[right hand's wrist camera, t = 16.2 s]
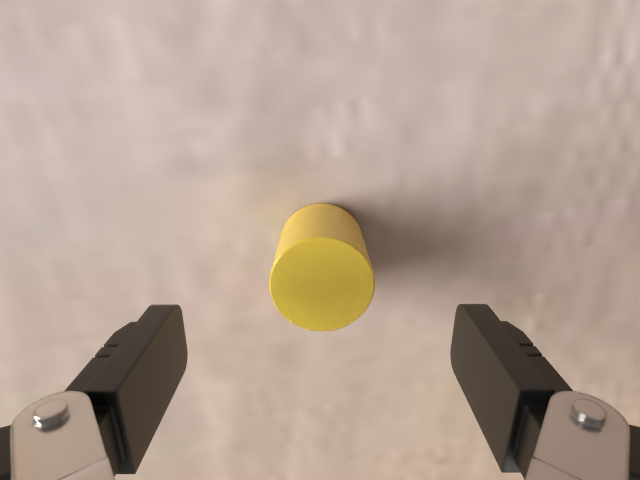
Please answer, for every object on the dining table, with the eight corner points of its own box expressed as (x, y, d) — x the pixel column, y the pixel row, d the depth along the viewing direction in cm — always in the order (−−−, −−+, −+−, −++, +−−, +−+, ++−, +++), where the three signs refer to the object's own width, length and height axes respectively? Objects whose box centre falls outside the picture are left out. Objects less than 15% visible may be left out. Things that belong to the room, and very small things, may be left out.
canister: (374, 261, 18) (390, 310, 14) (301, 290, 18) (296, 345, 14) (343, 189, 16) (351, 219, 13) (266, 222, 17) (250, 262, 13)
